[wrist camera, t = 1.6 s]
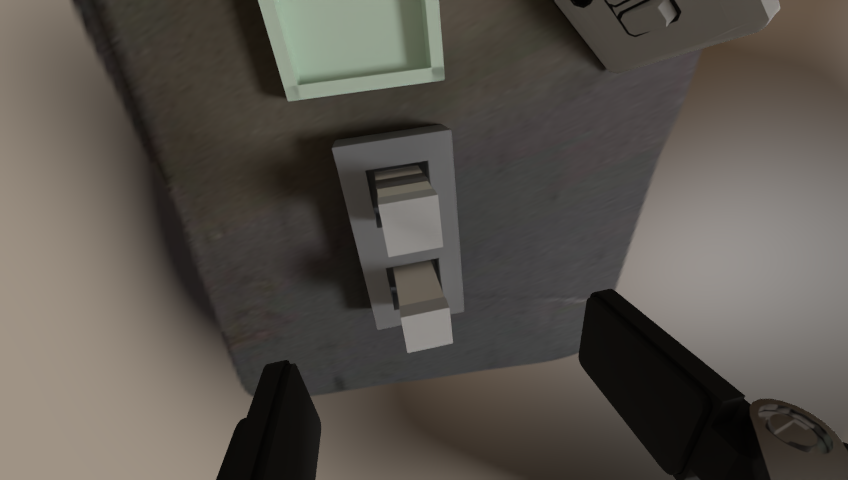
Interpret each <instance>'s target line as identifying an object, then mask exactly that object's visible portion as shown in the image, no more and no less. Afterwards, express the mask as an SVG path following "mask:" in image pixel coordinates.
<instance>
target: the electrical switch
mask: <svg viewBox="0 0 848 480" xmlns="http://www.w3.org/2000/svg"><path fill="white" fill-rule="evenodd" d="M554 2H555V3H556V4H557V5H558V7H559V8H560V9H561V11H562V12H563V13H564V15H565V16H566V17H567V18H568V20H569V21H570V22H571V24H572V25H573V26H574V27H575V29H576V30H577V31H578V33H579V34H580V35H581V36H582V38H583V39H584V40H585V42H586V43H587V44H588V46H589V47H590V48H591V49H592V51H593V52H594V53H595V55H596V56H597V57H598V58H599V60H600V61H601V62H602V64H603V65H604V66H605V67H606V69H607V70H608V71H610V72H613V73H621V72H625V71H628V70H631V69H634V68H638V67H641V66H645V65H648V64H651V63H655V62H658V61H661V60H665V59H668V58H672V57H675V56H678V55H682V54H685V53H688V52H692V51H695V50H699V49H702V48H705V47H708V46H712V45H715V44H719V43H722V42H726V41H729V40H732V39H736V38H739V37H742V36H746V35H749V34H752V33H756V32H758V31H760V30H761V29H763V28H765V27H766V26H767V24H768V23H769V22H770V20H771V19H772V18H773V16H774V15H775V14H776V13H777V12H778V11H779V10H780V5H779V1H778V0H554Z"/></svg>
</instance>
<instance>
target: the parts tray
mask: <svg viewBox="0 0 848 480" xmlns="http://www.w3.org/2000/svg"><path fill="white" fill-rule="evenodd" d="M258 2H259V6H260V9H261V12H262V16H263V19H264V22H265V26H266V29H267V33H268V36H269V39H270V43H271V46H272V49H273V53H274V56H275V59H276V63H277V66H278V70H279V73H280V76H281V80H282V83H283V86H284V90H285V93H286V97H287V100H288V101H295V100H302V99H310V98H317V97H324V96H332V95H339V94H346V93H354V92H361V91H368V90H376V89H383V88H390V87H397V86H405V85H412V84H419V83H427V82H434V81H441V80H445V76H444V63H443V50H442V37H441V24H440V10H439V0H258Z"/></svg>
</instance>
